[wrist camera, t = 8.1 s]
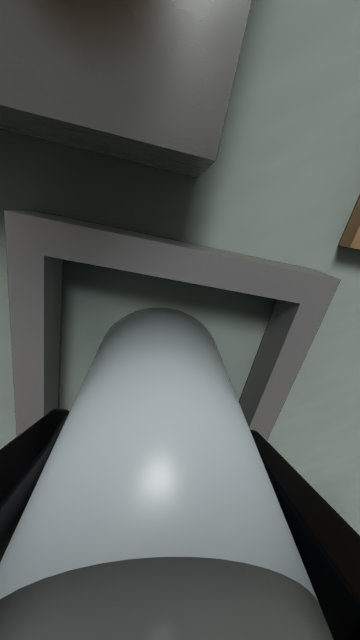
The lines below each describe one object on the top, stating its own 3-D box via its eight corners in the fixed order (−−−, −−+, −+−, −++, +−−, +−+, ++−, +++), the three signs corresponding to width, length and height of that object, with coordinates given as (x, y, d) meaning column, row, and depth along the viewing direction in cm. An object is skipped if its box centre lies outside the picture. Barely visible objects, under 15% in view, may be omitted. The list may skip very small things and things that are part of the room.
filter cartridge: (202, 415, 12) (291, 869, 4) (94, 402, 11) (-92, 926, 3) (232, 319, 10) (547, 811, 2) (103, 297, 9) (-318, 926, 1)
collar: (237, 457, 13) (246, 485, 12) (35, 438, 12) (18, 468, 10) (314, 269, 9) (341, 279, 8) (31, 210, 8) (4, 210, 7)
